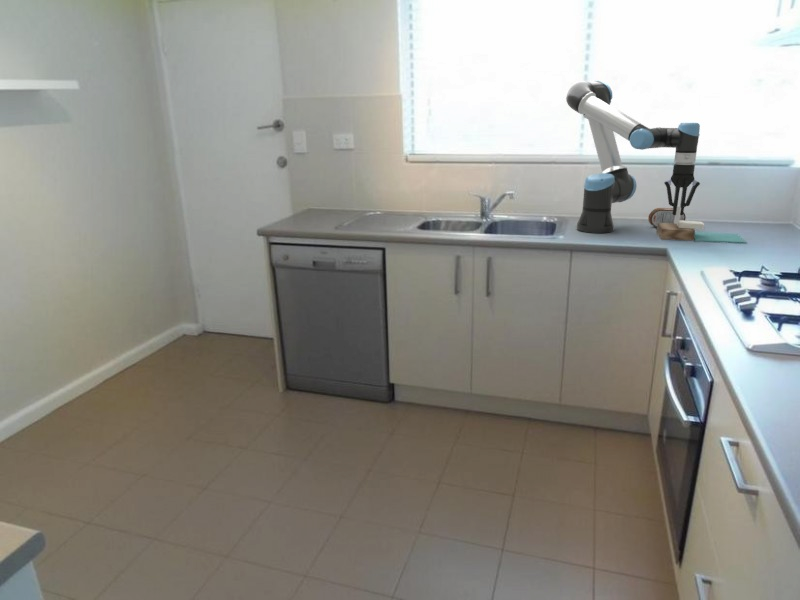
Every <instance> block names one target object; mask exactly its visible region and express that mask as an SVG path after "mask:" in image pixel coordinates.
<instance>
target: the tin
mask: <svg viewBox="0 0 800 600" xmlns="http://www.w3.org/2000/svg"><path fill="white" fill-rule="evenodd" d="M686 218H687V217H686V214H685V212H683V215H680V220H683V221H686ZM674 220H675V215H673V207H658V208H657V207H656V208H654V209H652V210H651V212H650V213H649V215H648V222H649V224H650V225H651V226H653V227H655V228H657V226H658V223H674Z"/></svg>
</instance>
